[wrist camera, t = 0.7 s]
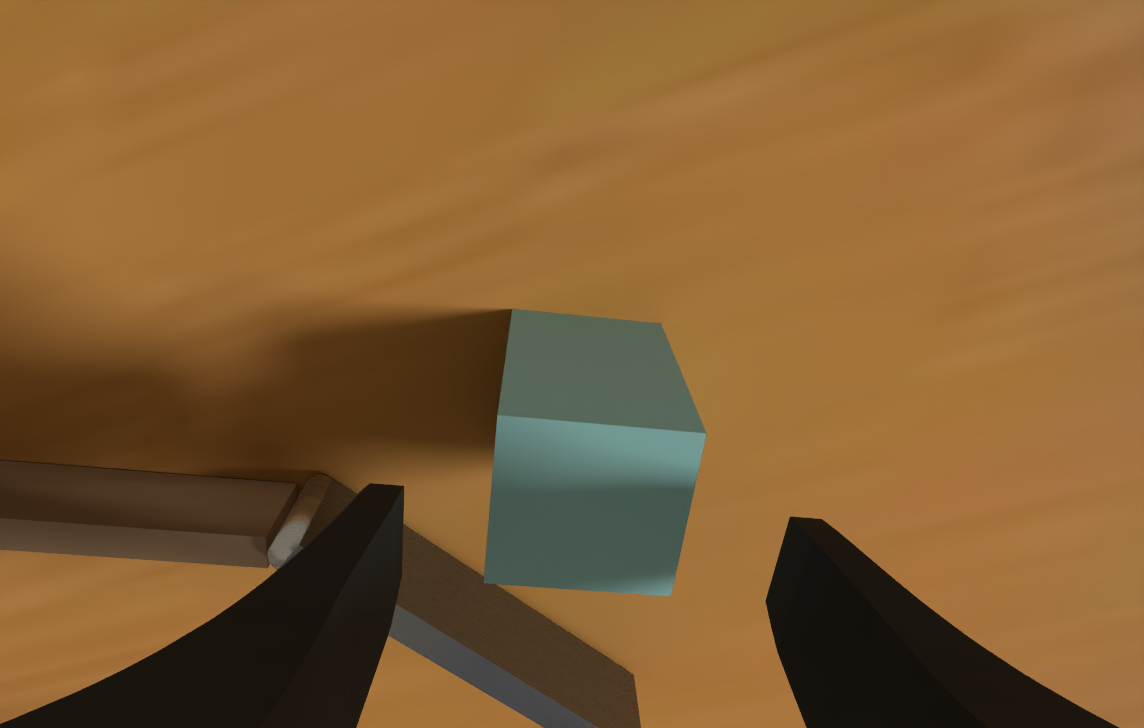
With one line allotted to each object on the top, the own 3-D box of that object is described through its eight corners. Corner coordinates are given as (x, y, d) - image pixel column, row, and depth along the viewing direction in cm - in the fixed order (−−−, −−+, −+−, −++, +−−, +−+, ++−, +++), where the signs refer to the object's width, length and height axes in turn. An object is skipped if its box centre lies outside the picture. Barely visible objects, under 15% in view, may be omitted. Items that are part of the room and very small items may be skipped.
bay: (310, 764, 25) (286, 835, 23) (-168, 741, 24) (-242, 813, 22) (296, 483, 21) (265, 537, 18) (-299, 436, 19) (-412, 488, 17)
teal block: (638, 451, 21) (671, 596, 15) (500, 439, 20) (483, 583, 15) (660, 323, 19) (706, 433, 14) (512, 308, 19) (497, 415, 13)
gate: (633, 674, 24) (644, 755, 21) (613, 691, 24) (621, 773, 21) (317, 468, 20) (281, 534, 17) (298, 491, 21) (259, 559, 18)
